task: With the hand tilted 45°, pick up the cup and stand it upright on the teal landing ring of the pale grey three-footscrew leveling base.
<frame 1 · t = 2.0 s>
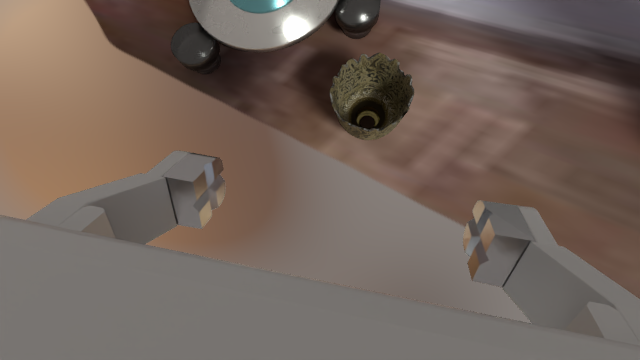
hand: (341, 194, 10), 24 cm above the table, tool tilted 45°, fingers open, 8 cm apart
leveling base: (273, 6, 41), on the table
cup: (367, 123, 37), on the table
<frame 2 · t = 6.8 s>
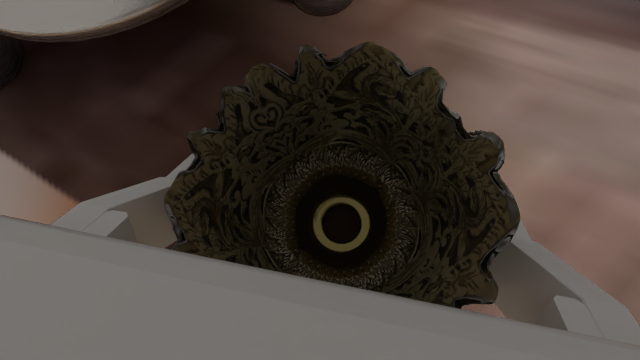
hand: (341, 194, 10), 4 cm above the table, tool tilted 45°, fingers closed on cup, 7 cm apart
cup: (341, 223, 15), on the table, touching gripper
when the fingers open (11 cm above the table, at t = 12.9 s): cup moves 2 cm, resting on leveling base.
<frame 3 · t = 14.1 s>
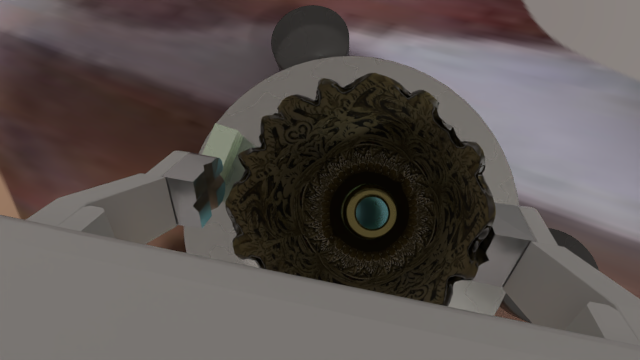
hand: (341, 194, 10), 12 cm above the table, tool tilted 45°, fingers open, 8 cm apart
leveling base: (345, 214, 22), on the table
cup: (372, 213, 17), point 5 cm above the table, touching leveling base
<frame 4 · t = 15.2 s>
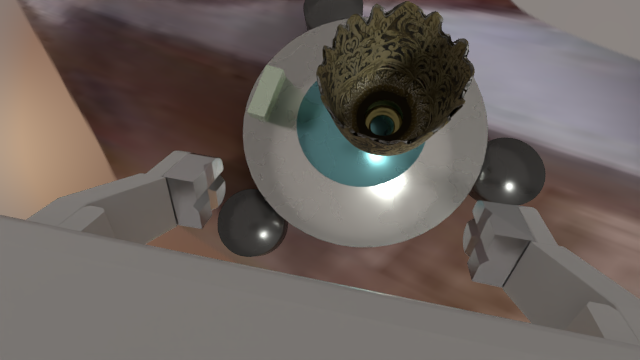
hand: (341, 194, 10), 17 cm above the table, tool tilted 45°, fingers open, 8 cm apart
leveling base: (359, 143, 28), on the table
cup: (381, 127, 23), point 5 cm above the table, touching leveling base
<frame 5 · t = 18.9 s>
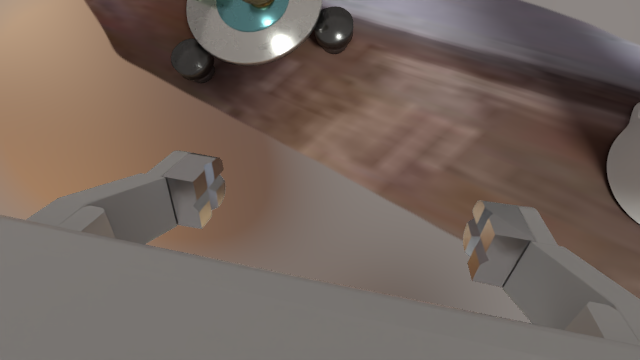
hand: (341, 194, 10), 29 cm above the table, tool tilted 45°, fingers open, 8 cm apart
leveling base: (262, 23, 46), on the table
cup: (263, 0, 41), point 5 cm above the table, touching leveling base
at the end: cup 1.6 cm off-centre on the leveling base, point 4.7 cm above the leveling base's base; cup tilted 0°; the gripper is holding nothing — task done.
